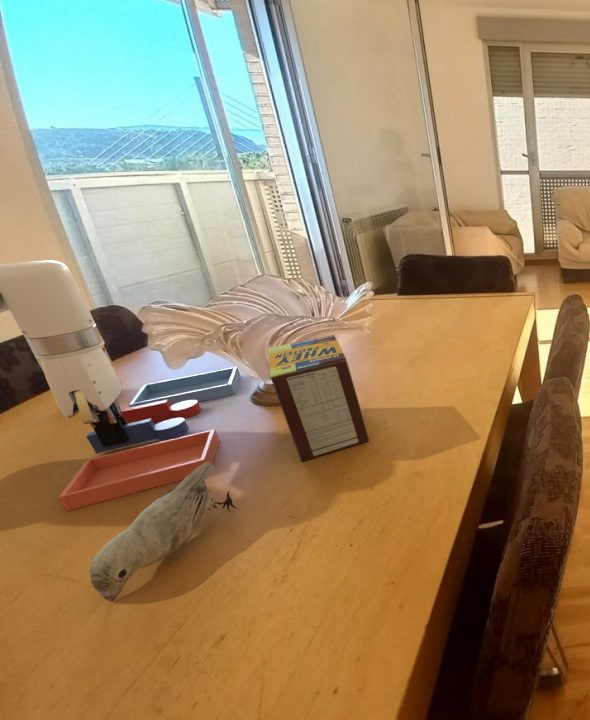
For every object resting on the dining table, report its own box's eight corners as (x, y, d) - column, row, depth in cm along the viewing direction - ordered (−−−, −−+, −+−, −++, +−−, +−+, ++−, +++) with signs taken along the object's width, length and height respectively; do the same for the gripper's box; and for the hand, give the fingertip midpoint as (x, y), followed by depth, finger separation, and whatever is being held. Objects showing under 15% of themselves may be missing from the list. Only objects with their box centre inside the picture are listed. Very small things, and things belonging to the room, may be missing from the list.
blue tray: (133, 415, 93) (128, 405, 92) (148, 394, 102) (143, 384, 101) (234, 394, 101) (230, 384, 100) (240, 376, 110) (237, 366, 109)
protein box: (356, 407, 93) (334, 333, 87) (370, 441, 82) (347, 358, 76) (293, 425, 88) (266, 347, 82) (299, 463, 76) (268, 376, 70)
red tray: (66, 511, 67) (57, 497, 66) (94, 471, 76) (87, 459, 75) (209, 472, 75) (204, 459, 74) (220, 440, 84) (215, 428, 83)
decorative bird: (86, 603, 52) (53, 552, 50) (208, 506, 67) (188, 462, 64) (132, 604, 52) (101, 553, 49) (245, 506, 67) (226, 462, 64)
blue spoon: (92, 458, 79) (82, 440, 77) (102, 445, 82) (92, 428, 81) (186, 434, 84) (178, 417, 83) (191, 424, 88) (183, 407, 86)
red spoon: (114, 434, 87) (106, 417, 85) (122, 424, 90) (114, 408, 89) (199, 415, 93) (192, 399, 91) (203, 406, 96) (196, 391, 95)
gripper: (54, 332, 78) (104, 428, 86) (7, 362, 66) (70, 471, 73) (115, 324, 82) (158, 416, 89) (81, 351, 70) (135, 455, 77)
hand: (118, 440), depth 81 cm, fingers closed on blue spoon, 1 cm apart
